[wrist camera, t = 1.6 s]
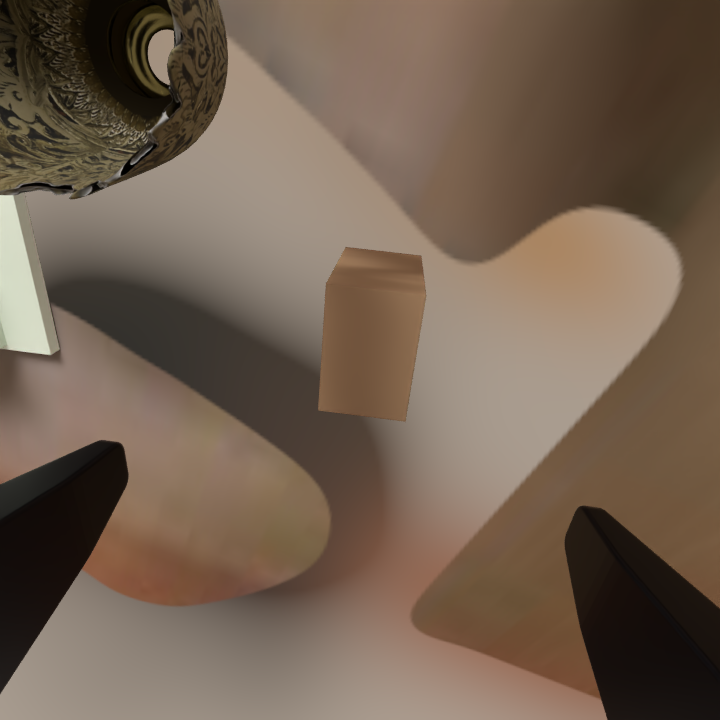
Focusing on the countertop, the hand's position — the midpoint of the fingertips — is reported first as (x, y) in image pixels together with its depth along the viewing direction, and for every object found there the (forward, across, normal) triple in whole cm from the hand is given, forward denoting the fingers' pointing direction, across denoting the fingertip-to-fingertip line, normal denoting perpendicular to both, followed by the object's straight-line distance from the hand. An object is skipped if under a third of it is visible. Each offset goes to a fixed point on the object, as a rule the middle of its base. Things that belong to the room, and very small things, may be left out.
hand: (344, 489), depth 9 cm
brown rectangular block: (+11, 0, 0) cm, 11 cm away
